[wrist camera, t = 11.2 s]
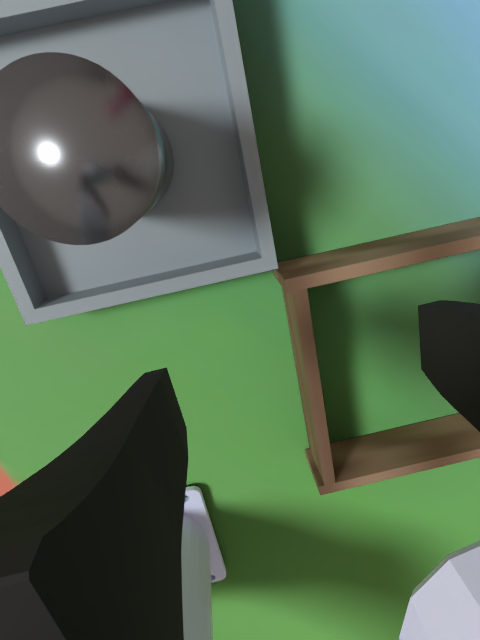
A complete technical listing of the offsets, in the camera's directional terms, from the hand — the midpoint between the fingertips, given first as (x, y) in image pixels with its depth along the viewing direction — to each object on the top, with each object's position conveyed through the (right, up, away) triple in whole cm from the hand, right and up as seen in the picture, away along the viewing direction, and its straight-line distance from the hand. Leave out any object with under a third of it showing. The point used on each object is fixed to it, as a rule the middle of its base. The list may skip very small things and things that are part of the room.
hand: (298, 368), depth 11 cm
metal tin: (-7, +8, +5) cm, 11 cm away
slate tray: (-7, +8, +6) cm, 12 cm away
